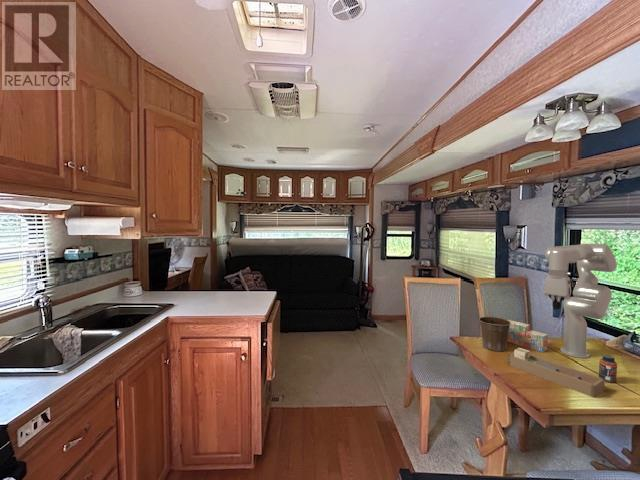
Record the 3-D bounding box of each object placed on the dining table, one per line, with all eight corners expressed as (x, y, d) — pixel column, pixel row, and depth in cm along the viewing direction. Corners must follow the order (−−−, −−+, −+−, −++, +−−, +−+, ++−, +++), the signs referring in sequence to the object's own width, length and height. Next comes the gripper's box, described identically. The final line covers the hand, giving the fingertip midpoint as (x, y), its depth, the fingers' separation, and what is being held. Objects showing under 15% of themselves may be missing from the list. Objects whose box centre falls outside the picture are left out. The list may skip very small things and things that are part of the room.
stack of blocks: (547, 350, 173) (548, 329, 172) (542, 352, 169) (543, 331, 169) (508, 338, 191) (508, 319, 190) (503, 340, 187) (503, 321, 187)
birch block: (518, 357, 157) (519, 347, 157) (529, 360, 153) (529, 351, 153) (513, 359, 155) (514, 349, 154) (524, 363, 150) (524, 353, 150)
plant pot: (472, 342, 184) (472, 316, 183) (496, 341, 186) (497, 315, 185) (490, 354, 168) (490, 325, 167) (516, 352, 170) (517, 324, 169)
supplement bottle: (612, 384, 136) (613, 360, 135) (595, 378, 141) (596, 354, 140) (619, 381, 138) (620, 357, 137) (602, 375, 143) (603, 352, 143)
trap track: (519, 359, 161) (519, 350, 160) (604, 390, 131) (604, 379, 131) (507, 364, 155) (508, 355, 155) (594, 397, 125) (594, 386, 125)
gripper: (579, 274, 149) (577, 311, 150) (544, 270, 161) (543, 304, 162) (572, 276, 145) (571, 313, 146) (537, 272, 158) (536, 306, 159)
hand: (556, 308), depth 154 cm, fingers closed
